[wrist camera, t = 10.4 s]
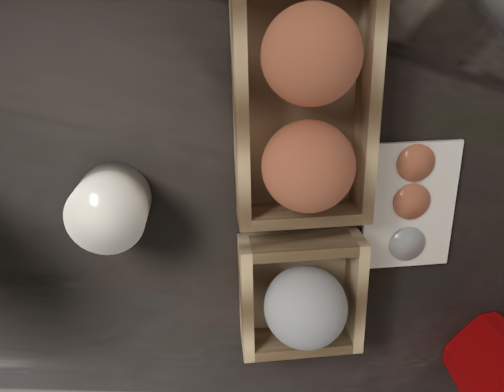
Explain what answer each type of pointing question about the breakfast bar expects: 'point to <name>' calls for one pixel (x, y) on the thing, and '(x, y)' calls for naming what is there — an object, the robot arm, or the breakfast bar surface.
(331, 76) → the peach-coloured sphere
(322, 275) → the ball grey
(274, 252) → the single open wooden box
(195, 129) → the breakfast bar surface
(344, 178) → the ball
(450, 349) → the french fries
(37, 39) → the breakfast bar surface
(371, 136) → the wooden egg crate
